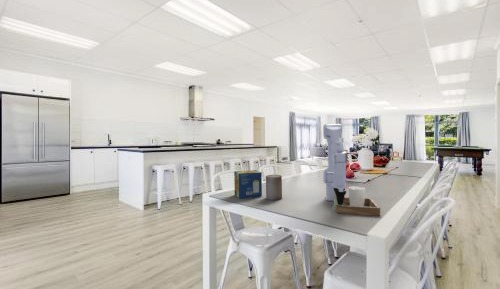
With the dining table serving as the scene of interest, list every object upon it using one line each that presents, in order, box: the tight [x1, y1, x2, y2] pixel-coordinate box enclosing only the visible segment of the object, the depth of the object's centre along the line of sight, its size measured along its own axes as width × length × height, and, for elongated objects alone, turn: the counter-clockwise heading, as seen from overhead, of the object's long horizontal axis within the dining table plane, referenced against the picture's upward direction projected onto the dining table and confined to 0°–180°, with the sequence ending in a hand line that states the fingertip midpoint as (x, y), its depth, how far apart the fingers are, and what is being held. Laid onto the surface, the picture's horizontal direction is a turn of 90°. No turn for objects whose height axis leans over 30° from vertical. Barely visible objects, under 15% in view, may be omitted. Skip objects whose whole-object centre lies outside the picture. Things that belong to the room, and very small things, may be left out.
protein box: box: [233, 169, 263, 199], centre depth 158 cm, size 10×15×16 cm
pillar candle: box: [265, 174, 283, 201], centre depth 151 cm, size 10×10×15 cm
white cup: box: [348, 186, 366, 207], centre depth 129 cm, size 8×8×10 cm
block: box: [333, 194, 344, 209], centre depth 125 cm, size 4×4×6 cm
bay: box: [335, 196, 381, 216], centre depth 126 cm, size 19×19×4 cm
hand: (339, 203), depth 125 cm, fingers closed on block, 4 cm apart
